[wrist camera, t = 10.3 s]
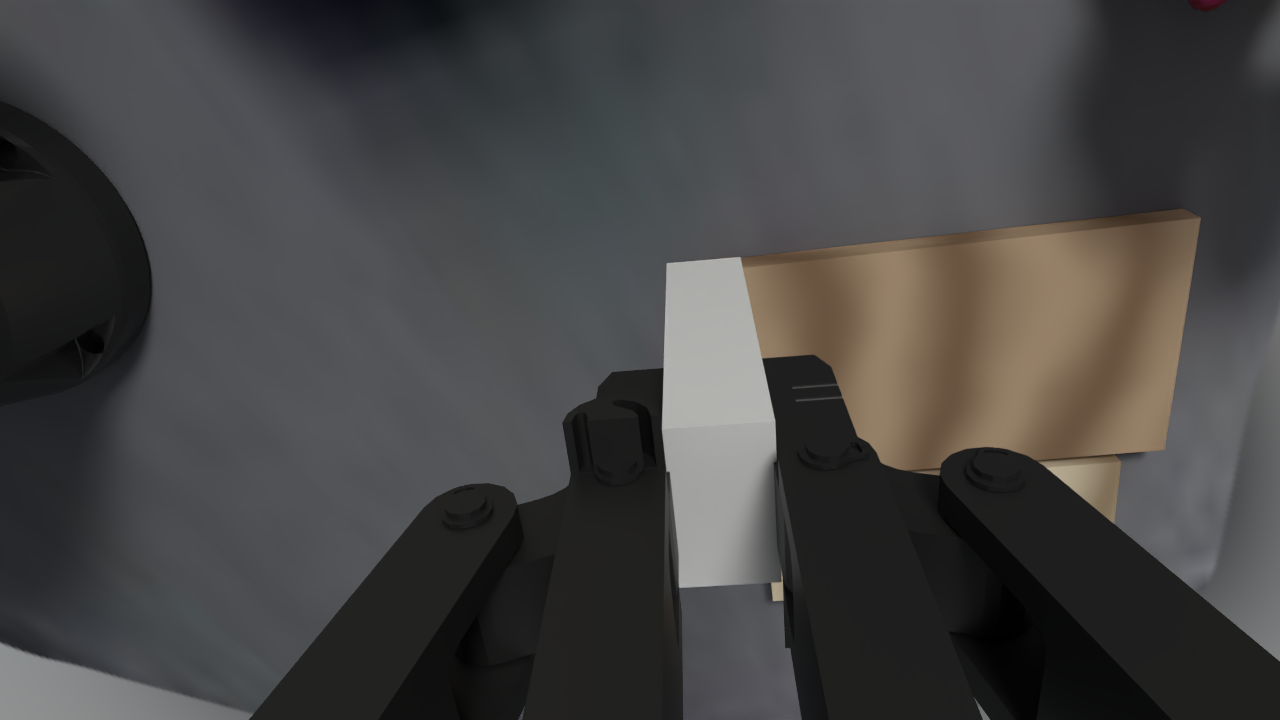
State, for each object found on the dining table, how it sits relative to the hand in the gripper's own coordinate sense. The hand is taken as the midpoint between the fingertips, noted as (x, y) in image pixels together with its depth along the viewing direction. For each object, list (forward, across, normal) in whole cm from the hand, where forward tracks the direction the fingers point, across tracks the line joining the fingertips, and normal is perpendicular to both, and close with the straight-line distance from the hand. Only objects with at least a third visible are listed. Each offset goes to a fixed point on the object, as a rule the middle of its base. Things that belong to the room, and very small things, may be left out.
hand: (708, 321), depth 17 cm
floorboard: (+22, +11, -12) cm, 28 cm away
